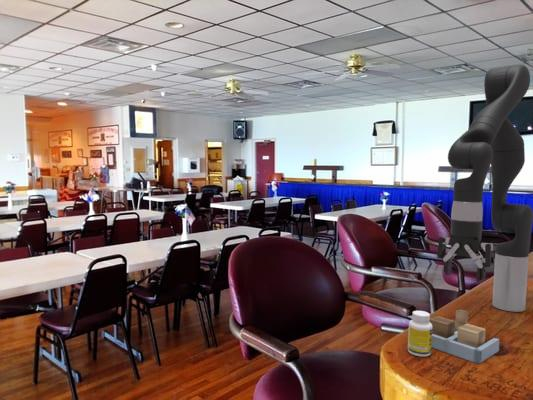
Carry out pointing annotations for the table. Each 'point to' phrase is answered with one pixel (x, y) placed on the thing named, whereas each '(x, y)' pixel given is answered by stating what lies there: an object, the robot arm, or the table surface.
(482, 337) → the oak block
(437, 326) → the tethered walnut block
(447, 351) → the lane shelf
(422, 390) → the table surface
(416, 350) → the supplement bottle
